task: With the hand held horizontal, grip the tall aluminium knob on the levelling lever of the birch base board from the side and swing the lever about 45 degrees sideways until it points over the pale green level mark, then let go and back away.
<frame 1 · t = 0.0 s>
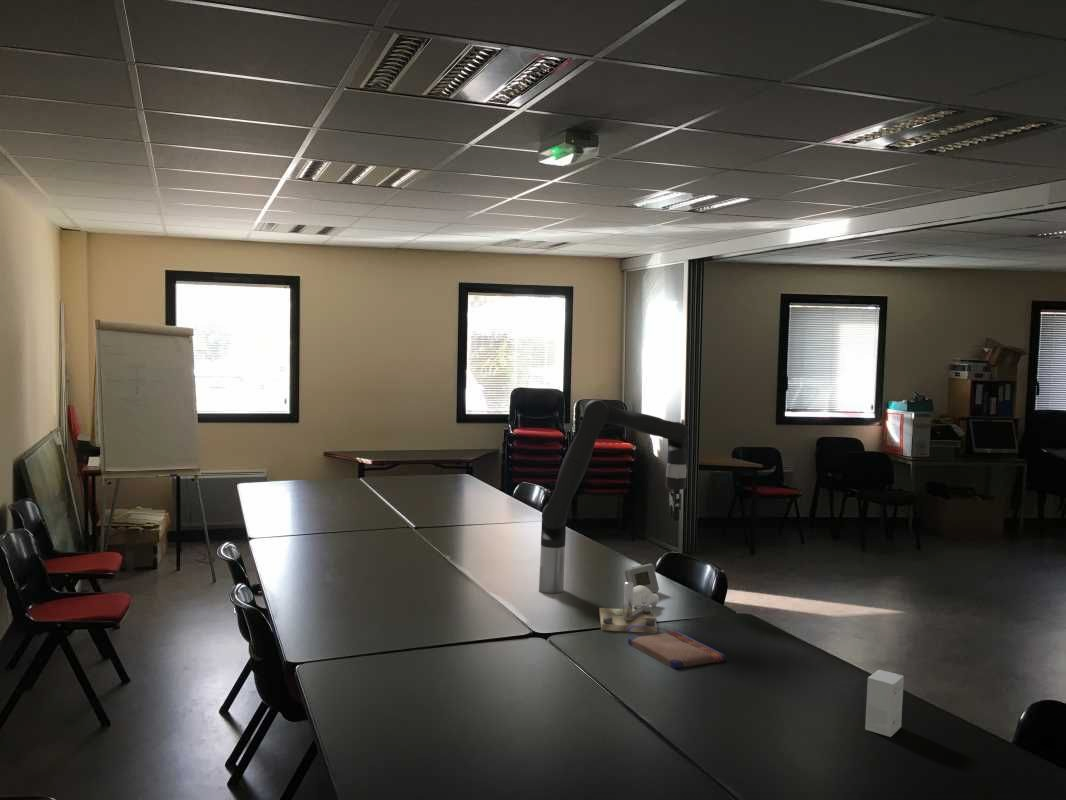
hand: (674, 518, 320), 29 cm above the table, fingers open, 8 cm apart
footscrew lever: (637, 596, 286), point 9 cm above the table, hinge at 0.0°
digital clock: (641, 595, 322), on the table
small box: (882, 729, 209), on the table
tribrach base: (627, 622, 286), on the table
clutch: (672, 652, 261), on the table
white lumpy figure: (645, 608, 305), on the table
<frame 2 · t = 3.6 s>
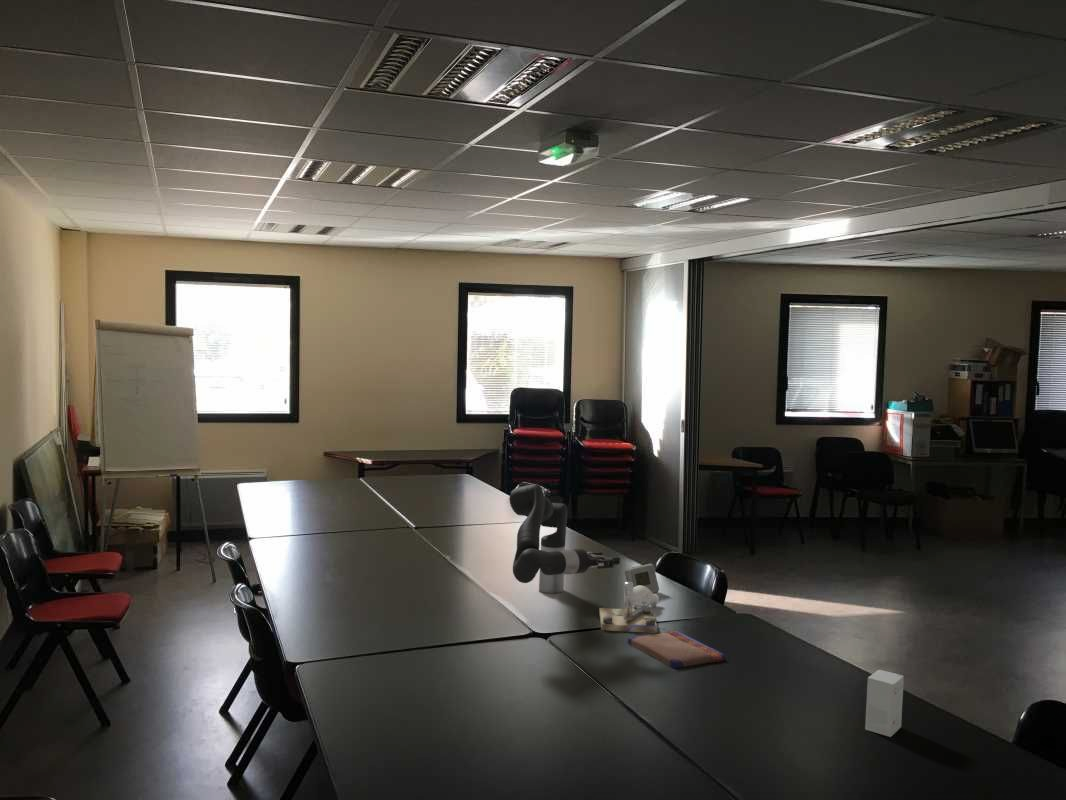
hand: (610, 558, 274), 24 cm above the table, fingers open, 8 cm apart
nothing on the table moved.
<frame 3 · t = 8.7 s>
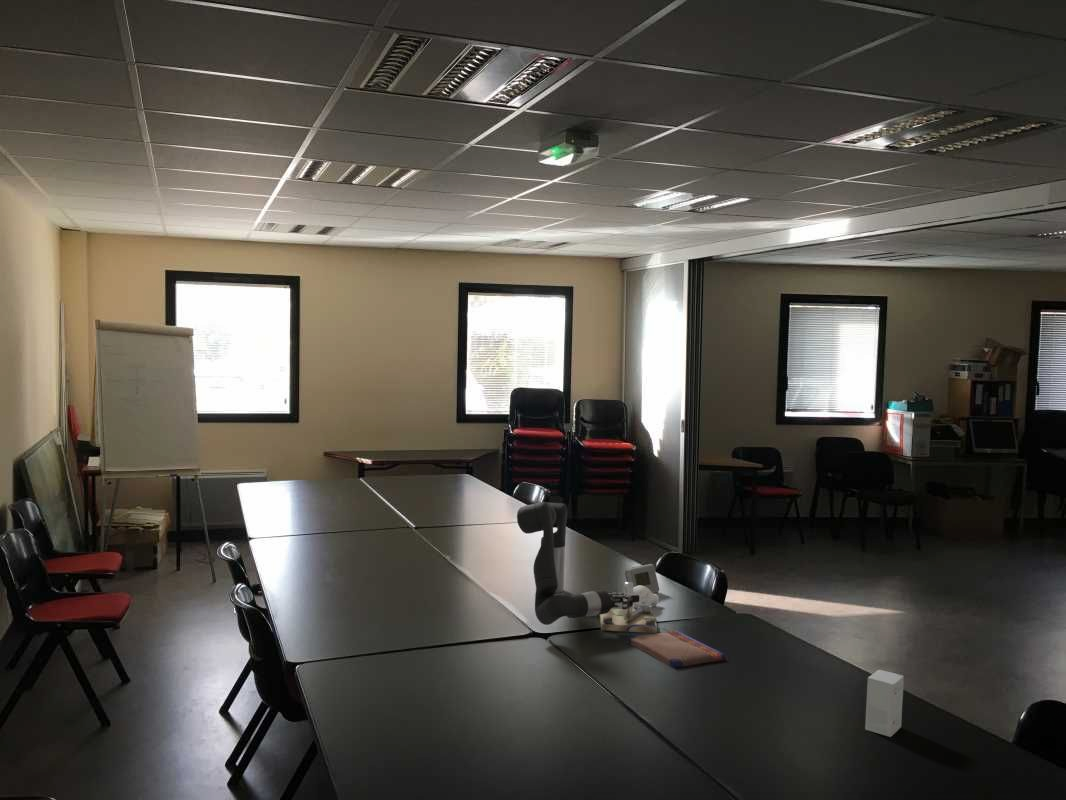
hand: (634, 596, 282), 10 cm above the table, fingers closed on footscrew lever, 3 cm apart
footscrew lever: (637, 596, 286), point 9 cm above the table, hinge at 0.2°, touching gripper
everything else where it was.
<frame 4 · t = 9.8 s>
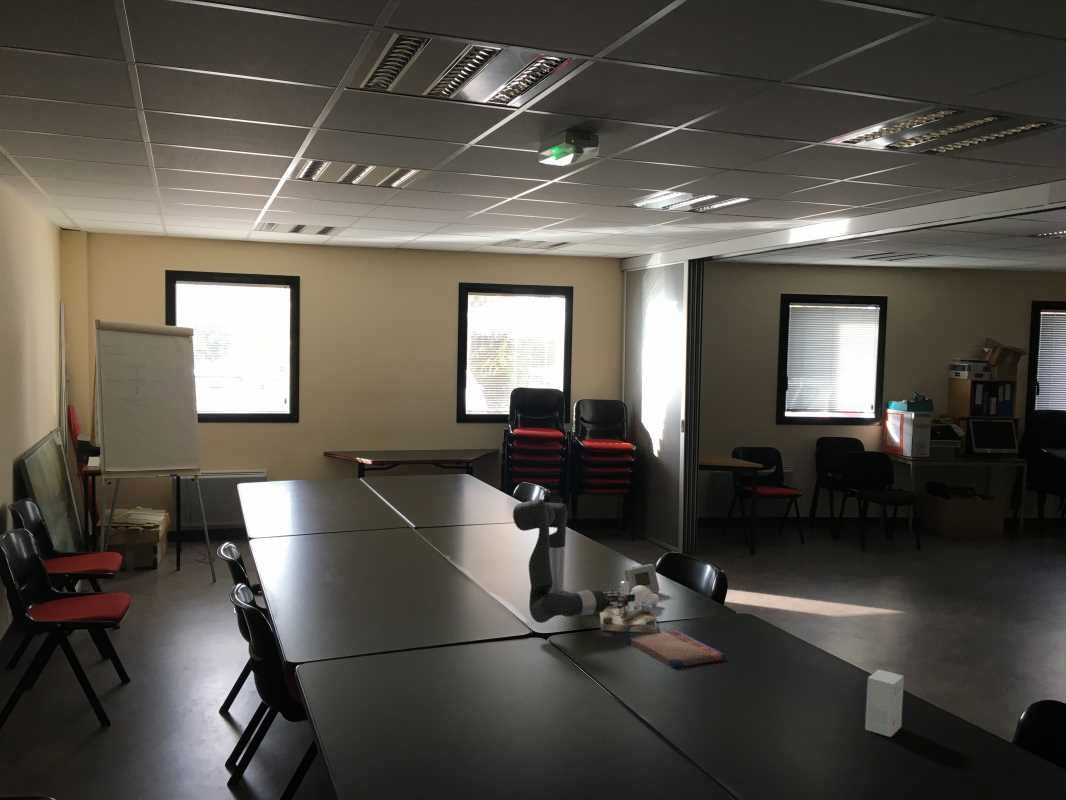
hand: (630, 596, 283), 10 cm above the table, fingers closed on footscrew lever, 3 cm apart
footscrew lever: (635, 596, 287), point 9 cm above the table, hinge at -6.3°, touching gripper
everything else where it was.
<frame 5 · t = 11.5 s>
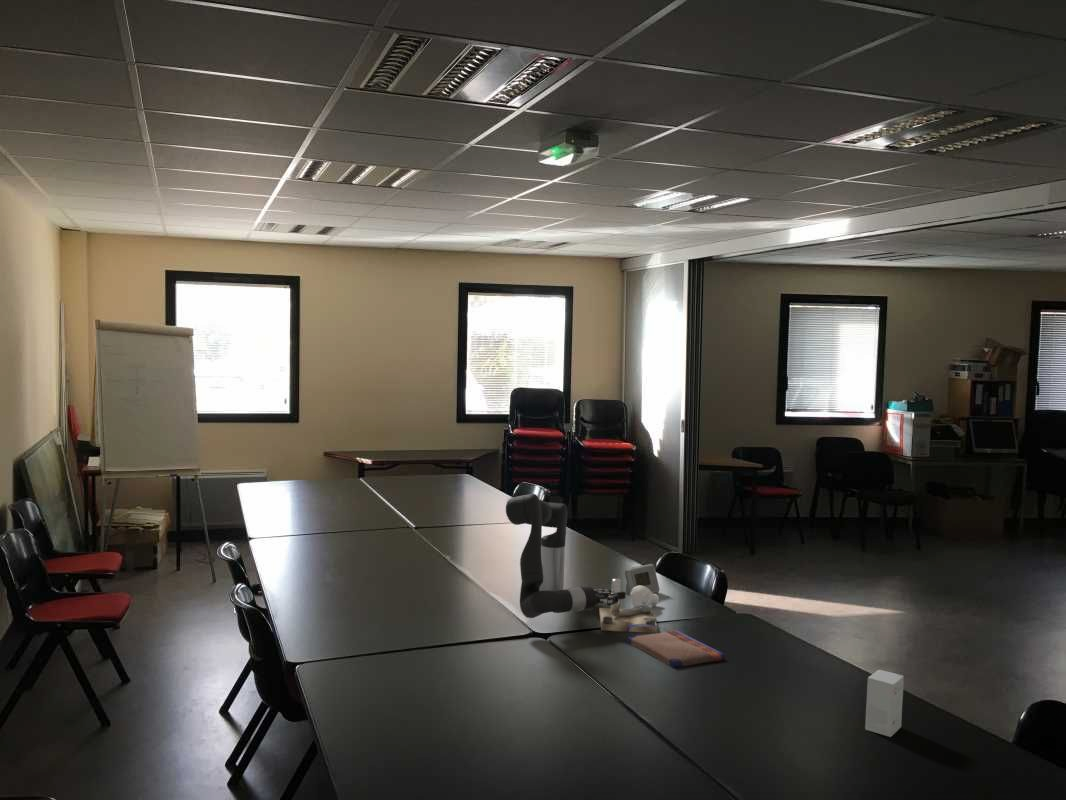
hand: (621, 593, 285), 10 cm above the table, fingers closed on footscrew lever, 3 cm apart
footscrew lever: (631, 595, 288), point 9 cm above the table, hinge at -22.9°, touching gripper
everything else where it was.
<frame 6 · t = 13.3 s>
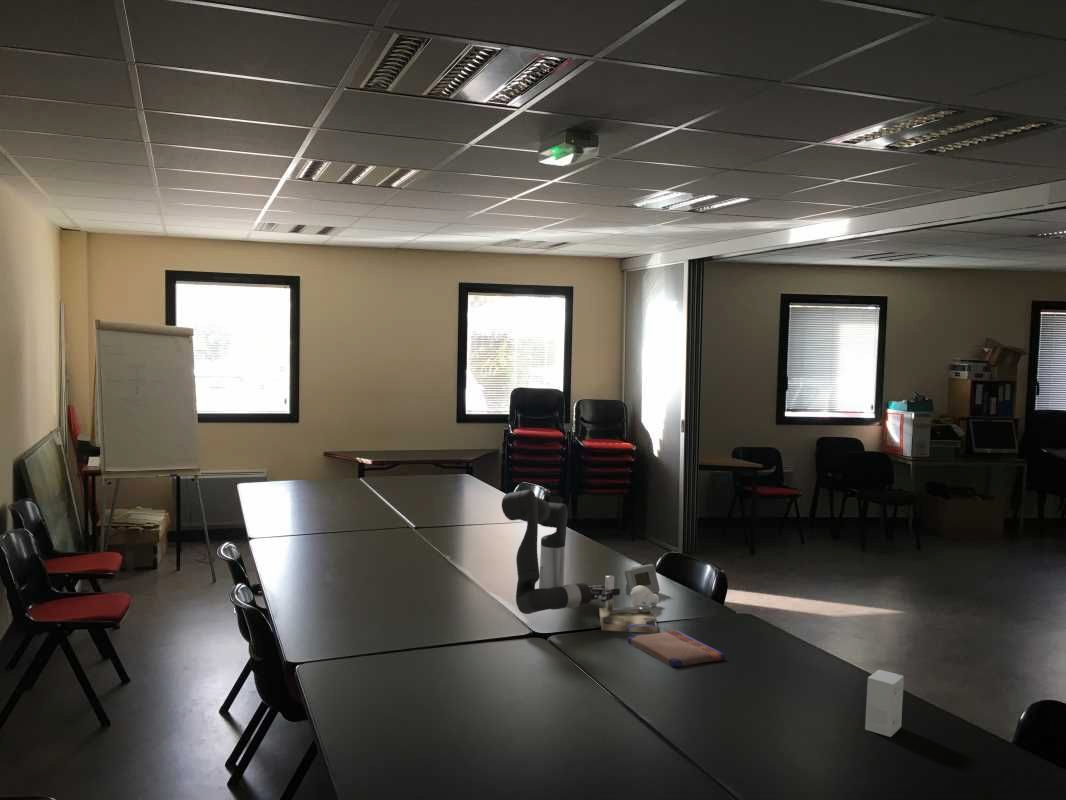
hand: (614, 589, 290), 10 cm above the table, fingers open, 4 cm apart
footscrew lever: (628, 593, 290), point 9 cm above the table, hinge at -41.6°
everything else where it was.
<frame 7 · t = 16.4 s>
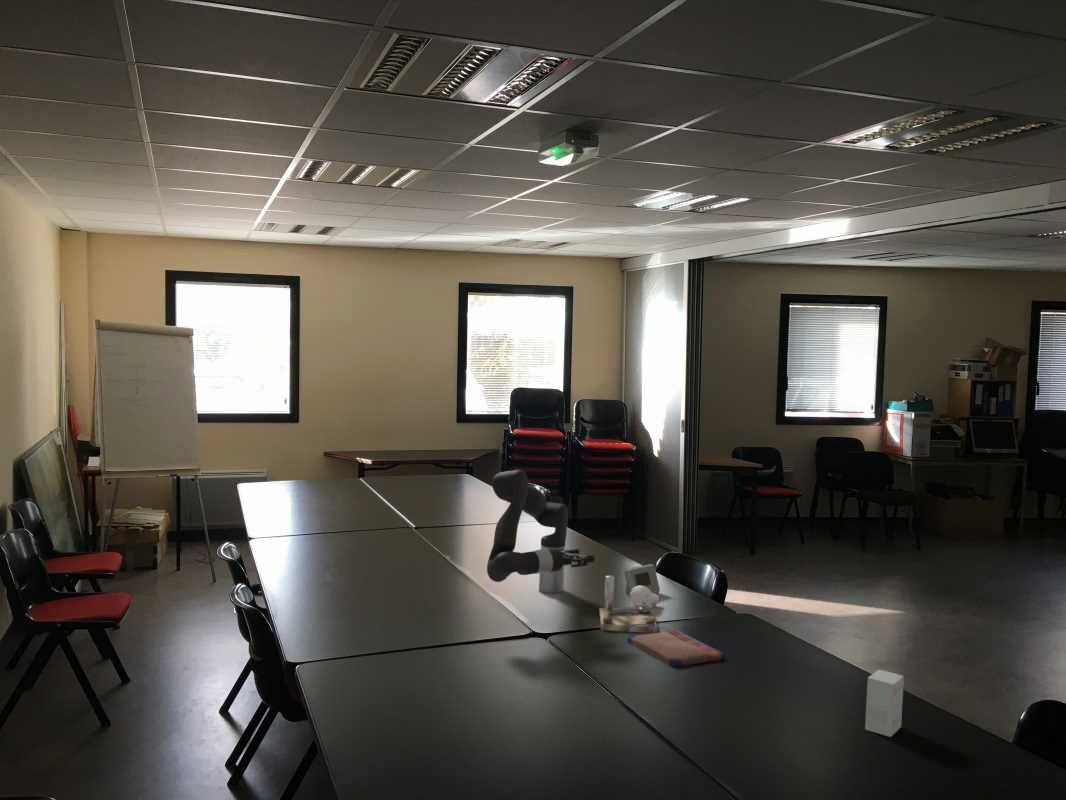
hand: (586, 555, 282), 23 cm above the table, fingers open, 8 cm apart
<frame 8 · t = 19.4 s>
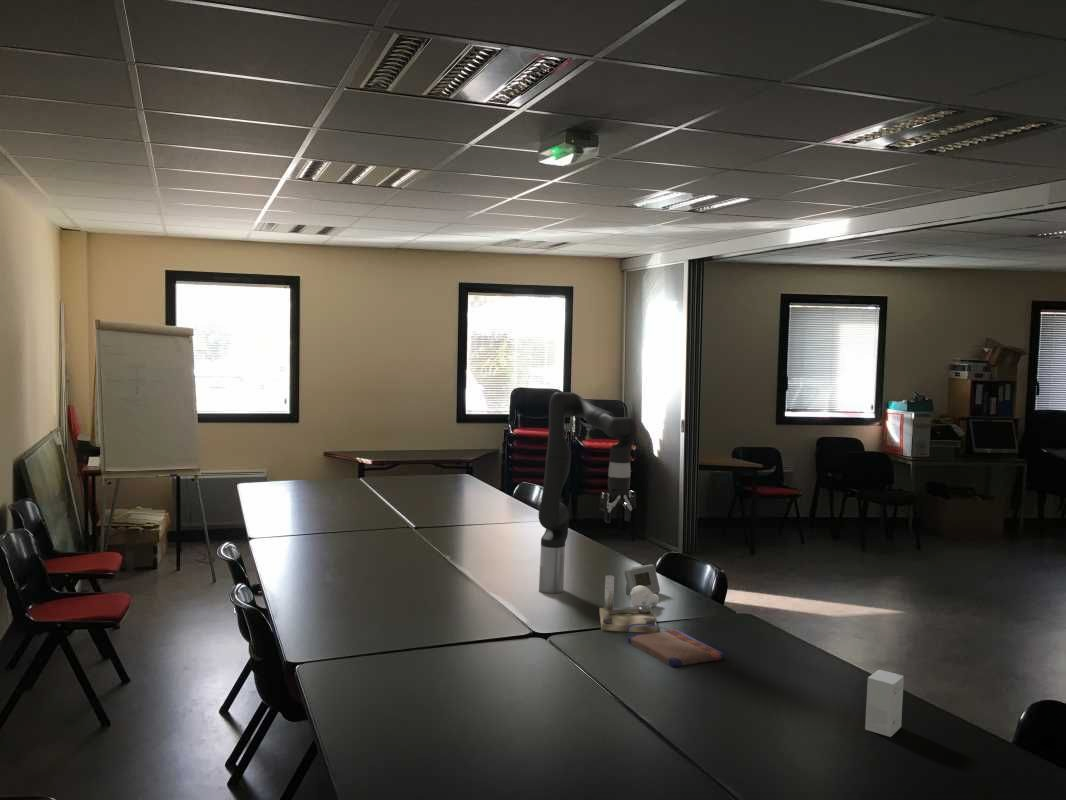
hand: (617, 521, 295), 32 cm above the table, fingers open, 8 cm apart
at the end: footscrew lever at -42° (first picture: +0°); the gripper is holding nothing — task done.
